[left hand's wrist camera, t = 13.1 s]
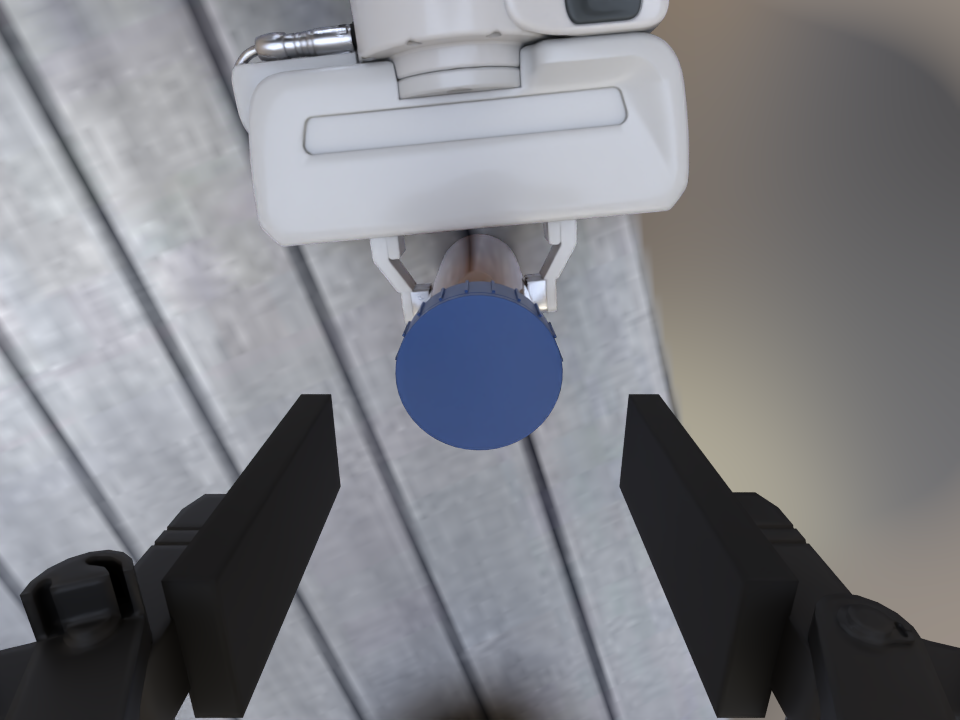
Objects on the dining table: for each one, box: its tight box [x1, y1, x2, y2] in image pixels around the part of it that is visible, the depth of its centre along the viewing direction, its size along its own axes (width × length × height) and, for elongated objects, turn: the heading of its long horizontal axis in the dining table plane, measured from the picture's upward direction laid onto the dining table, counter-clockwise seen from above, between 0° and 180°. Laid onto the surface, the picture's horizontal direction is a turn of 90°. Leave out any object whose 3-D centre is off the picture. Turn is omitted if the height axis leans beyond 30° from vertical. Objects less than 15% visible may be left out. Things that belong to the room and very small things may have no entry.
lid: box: [395, 280, 563, 450], centre depth 20 cm, size 6×6×2 cm
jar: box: [427, 234, 531, 301], centre depth 27 cm, size 5×5×17 cm
